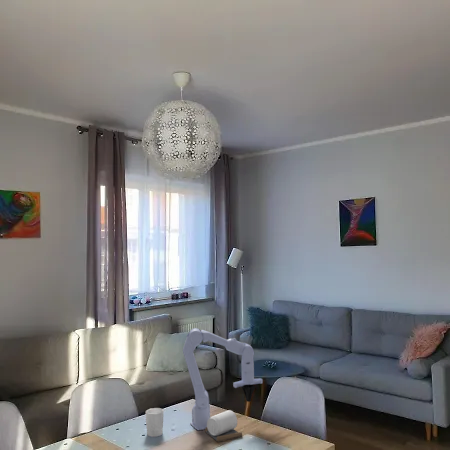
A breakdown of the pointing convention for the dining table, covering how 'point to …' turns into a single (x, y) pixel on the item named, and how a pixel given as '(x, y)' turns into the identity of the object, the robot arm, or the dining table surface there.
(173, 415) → the dining table surface
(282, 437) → the dining table surface
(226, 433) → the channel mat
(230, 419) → the beverage can
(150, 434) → the white cup
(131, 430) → the dining table surface
